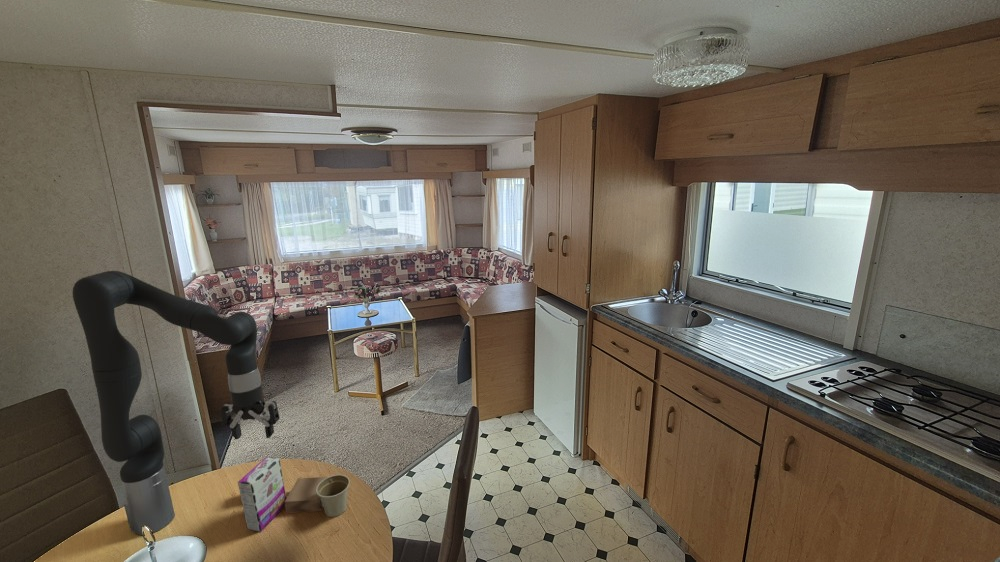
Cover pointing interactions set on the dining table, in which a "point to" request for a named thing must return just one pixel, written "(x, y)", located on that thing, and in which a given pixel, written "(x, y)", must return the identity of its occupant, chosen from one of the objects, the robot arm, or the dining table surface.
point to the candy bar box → (262, 493)
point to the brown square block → (304, 496)
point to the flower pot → (334, 494)
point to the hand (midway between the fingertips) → (254, 437)
